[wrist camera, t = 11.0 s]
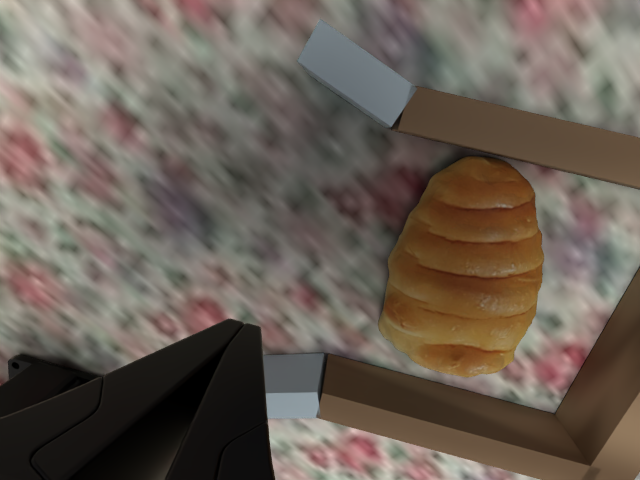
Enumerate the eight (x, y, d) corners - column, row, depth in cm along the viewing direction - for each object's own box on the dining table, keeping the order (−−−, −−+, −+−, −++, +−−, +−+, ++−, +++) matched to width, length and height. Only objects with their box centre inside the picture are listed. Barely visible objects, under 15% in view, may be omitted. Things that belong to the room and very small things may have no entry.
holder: (568, 462, 19) (604, 519, 16) (250, 375, 20) (231, 415, 17) (770, 142, 14) (878, 145, 11) (316, 38, 14) (305, 15, 11)
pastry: (399, 148, 15) (411, 153, 12) (555, 160, 15) (619, 169, 11) (374, 329, 18) (378, 378, 15) (505, 344, 18) (542, 399, 14)
